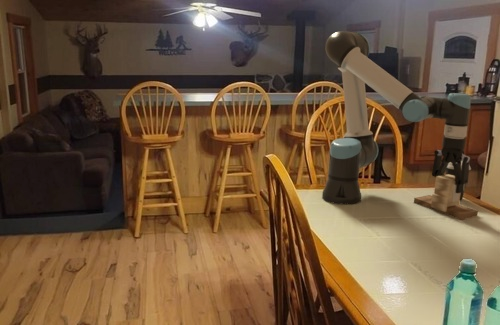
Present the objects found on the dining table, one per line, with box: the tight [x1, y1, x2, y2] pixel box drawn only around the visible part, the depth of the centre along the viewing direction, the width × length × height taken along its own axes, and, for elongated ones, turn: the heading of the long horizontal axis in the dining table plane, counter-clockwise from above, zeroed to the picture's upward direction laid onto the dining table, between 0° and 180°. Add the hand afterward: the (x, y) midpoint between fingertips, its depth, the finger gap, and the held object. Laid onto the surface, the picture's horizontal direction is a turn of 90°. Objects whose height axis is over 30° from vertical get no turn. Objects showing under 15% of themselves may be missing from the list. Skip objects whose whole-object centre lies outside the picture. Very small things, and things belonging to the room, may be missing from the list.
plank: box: [413, 194, 479, 221], centre depth 177 cm, size 21×9×2 cm, turn 31°
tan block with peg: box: [431, 174, 461, 212], centre depth 174 cm, size 6×10×12 cm, turn 121°
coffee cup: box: [445, 160, 472, 202], centre depth 189 cm, size 10×10×15 cm
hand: (446, 198), depth 174 cm, fingers closed on tan block with peg, 6 cm apart
